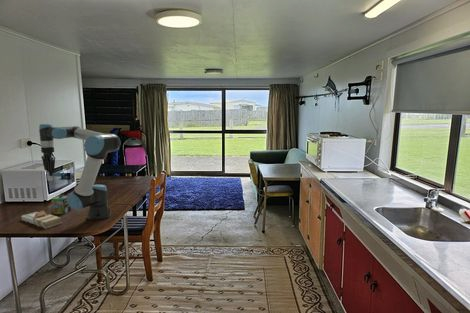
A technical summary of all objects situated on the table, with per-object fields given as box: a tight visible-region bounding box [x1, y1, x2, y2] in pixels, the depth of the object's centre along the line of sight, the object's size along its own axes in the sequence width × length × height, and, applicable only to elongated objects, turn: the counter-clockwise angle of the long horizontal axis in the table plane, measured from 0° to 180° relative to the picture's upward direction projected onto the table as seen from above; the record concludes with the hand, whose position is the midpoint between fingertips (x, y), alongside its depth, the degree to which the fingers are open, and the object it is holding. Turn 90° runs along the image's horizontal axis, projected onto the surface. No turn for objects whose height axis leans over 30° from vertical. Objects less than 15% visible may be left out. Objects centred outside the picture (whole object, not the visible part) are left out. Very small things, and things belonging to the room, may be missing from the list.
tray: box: [21, 211, 38, 225], centre depth 201 cm, size 16×10×3 cm, turn 61°
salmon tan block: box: [34, 210, 47, 218], centre depth 198 cm, size 6×5×3 cm
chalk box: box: [50, 192, 72, 215], centre depth 216 cm, size 9×9×15 cm
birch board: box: [33, 213, 63, 230], centre depth 194 cm, size 14×10×4 cm
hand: (50, 180), depth 203 cm, fingers closed
